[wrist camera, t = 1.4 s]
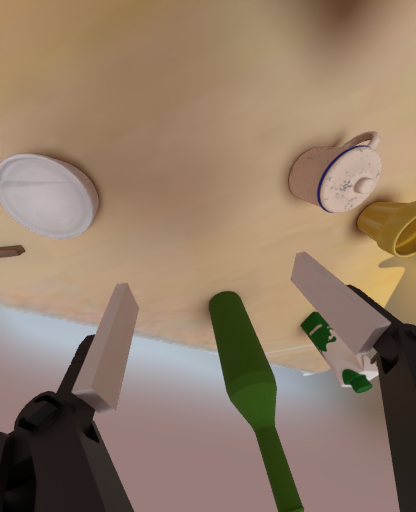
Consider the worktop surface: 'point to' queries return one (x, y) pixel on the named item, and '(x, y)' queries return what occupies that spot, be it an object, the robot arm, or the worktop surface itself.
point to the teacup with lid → (338, 174)
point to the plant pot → (391, 226)
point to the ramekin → (47, 195)
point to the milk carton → (340, 355)
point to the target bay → (11, 251)
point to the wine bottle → (252, 390)
